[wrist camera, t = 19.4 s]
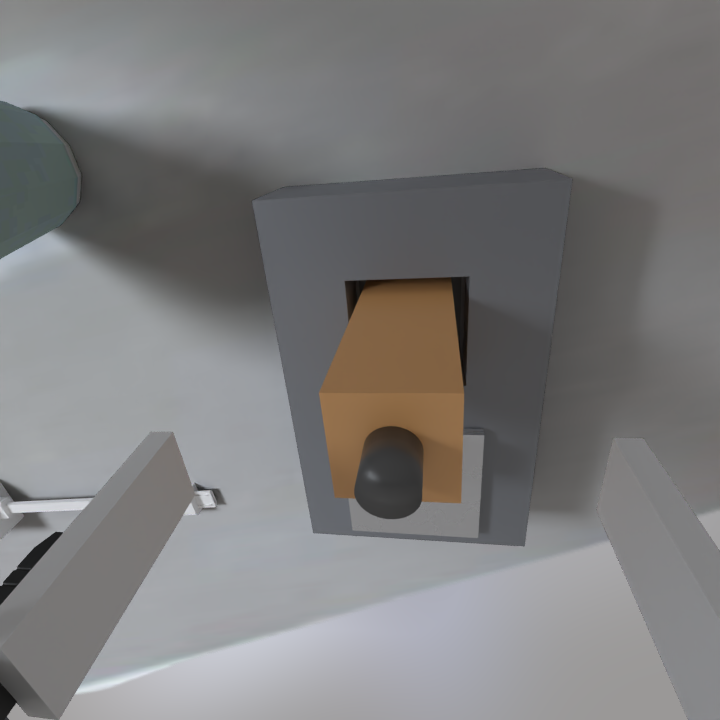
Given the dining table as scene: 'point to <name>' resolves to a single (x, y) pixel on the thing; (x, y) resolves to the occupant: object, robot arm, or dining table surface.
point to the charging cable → (76, 506)
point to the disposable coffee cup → (33, 178)
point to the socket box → (471, 302)
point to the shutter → (438, 503)
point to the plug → (397, 399)
